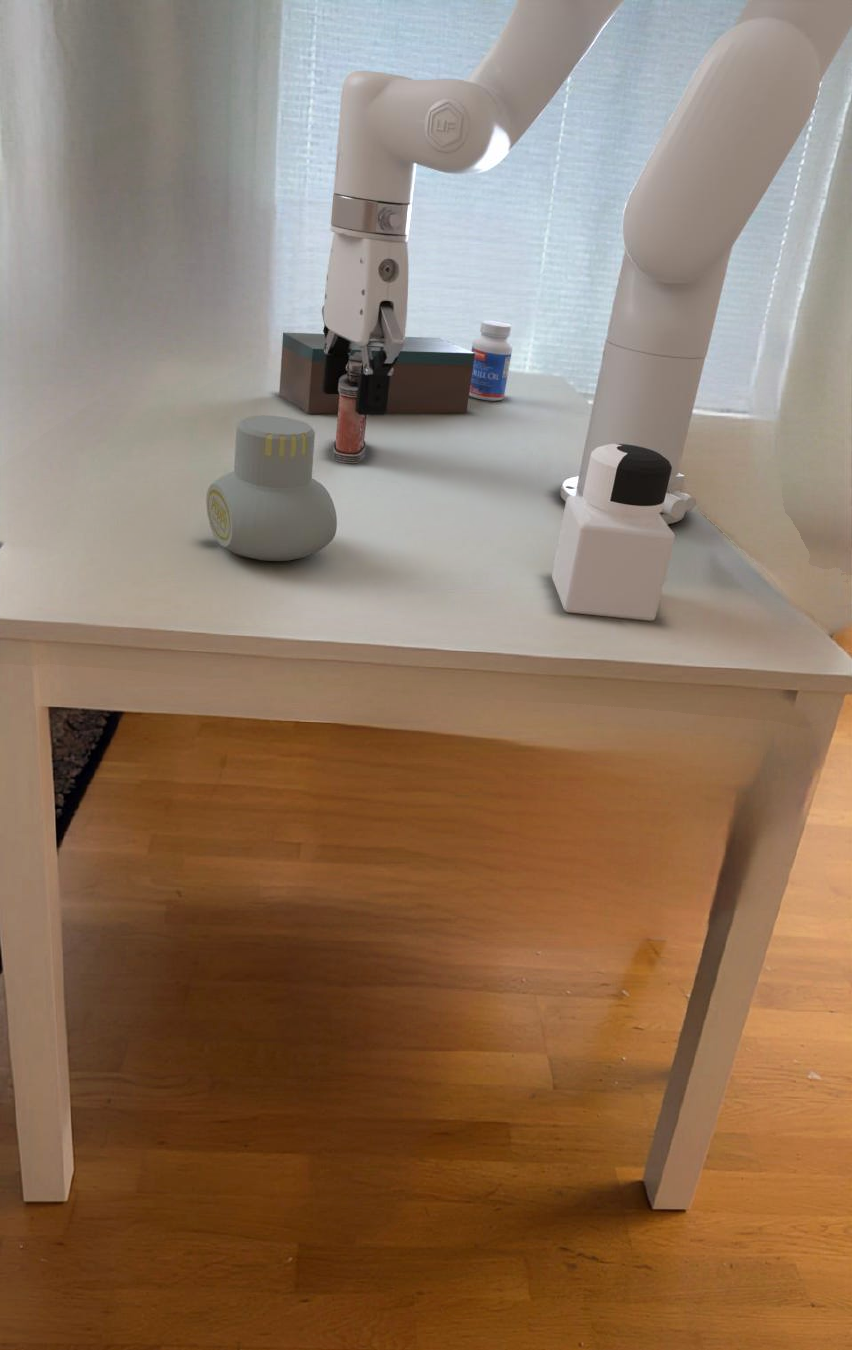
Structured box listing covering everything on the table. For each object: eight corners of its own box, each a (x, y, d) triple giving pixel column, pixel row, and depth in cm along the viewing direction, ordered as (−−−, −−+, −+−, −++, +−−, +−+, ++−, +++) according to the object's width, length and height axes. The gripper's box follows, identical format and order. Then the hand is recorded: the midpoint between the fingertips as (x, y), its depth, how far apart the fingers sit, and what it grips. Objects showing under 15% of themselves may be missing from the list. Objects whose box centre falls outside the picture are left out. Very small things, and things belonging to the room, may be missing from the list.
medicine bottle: (635, 587, 87) (669, 443, 82) (655, 622, 81) (692, 469, 76) (550, 578, 87) (578, 432, 81) (563, 613, 80) (594, 458, 75)
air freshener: (342, 573, 82) (354, 445, 78) (237, 578, 79) (244, 445, 74) (295, 524, 91) (303, 407, 86) (199, 527, 87) (202, 405, 83)
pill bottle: (460, 396, 144) (470, 321, 140) (470, 389, 149) (480, 317, 145) (499, 403, 143) (511, 329, 139) (508, 397, 148) (519, 324, 144)
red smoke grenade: (362, 465, 109) (371, 365, 105) (329, 460, 109) (337, 361, 104) (367, 445, 116) (376, 351, 112) (336, 441, 116) (344, 347, 112)
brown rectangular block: (466, 413, 136) (475, 353, 133) (308, 414, 125) (312, 348, 122) (432, 395, 143) (439, 338, 139) (279, 394, 132) (282, 332, 129)
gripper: (449, 235, 98) (425, 426, 106) (365, 212, 111) (349, 383, 119) (376, 228, 94) (357, 427, 102) (298, 205, 107) (287, 382, 115)
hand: (353, 402), depth 110 cm, fingers closed on red smoke grenade, 7 cm apart
